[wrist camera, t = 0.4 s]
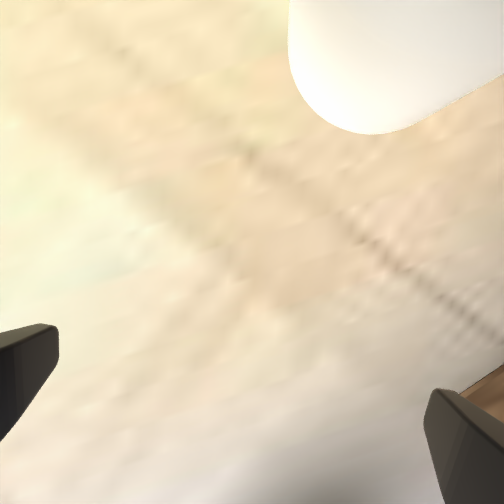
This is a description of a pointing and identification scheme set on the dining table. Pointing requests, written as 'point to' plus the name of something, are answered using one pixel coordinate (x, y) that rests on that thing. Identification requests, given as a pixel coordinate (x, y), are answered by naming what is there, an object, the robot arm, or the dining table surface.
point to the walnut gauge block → (489, 394)
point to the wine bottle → (392, 57)
